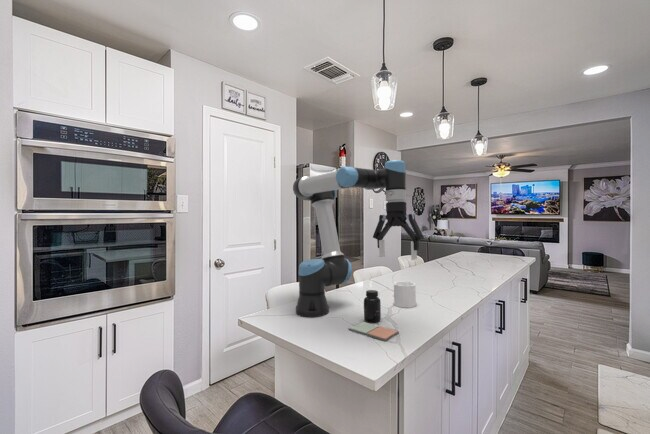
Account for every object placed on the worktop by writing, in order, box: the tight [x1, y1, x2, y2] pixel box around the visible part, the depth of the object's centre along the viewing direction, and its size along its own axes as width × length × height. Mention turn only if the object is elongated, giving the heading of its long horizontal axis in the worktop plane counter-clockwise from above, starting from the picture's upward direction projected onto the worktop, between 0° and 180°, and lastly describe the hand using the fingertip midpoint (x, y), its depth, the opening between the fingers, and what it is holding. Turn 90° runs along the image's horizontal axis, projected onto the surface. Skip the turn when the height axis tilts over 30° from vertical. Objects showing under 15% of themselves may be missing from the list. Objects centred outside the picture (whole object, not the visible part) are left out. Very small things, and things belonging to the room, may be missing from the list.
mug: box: [393, 281, 417, 309], centre depth 142 cm, size 13×10×10 cm
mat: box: [347, 321, 400, 342], centre depth 108 cm, size 16×10×1 cm, turn 47°
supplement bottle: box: [363, 289, 382, 324], centre depth 120 cm, size 7×7×12 cm
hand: (397, 258), depth 110 cm, fingers open, 13 cm apart
